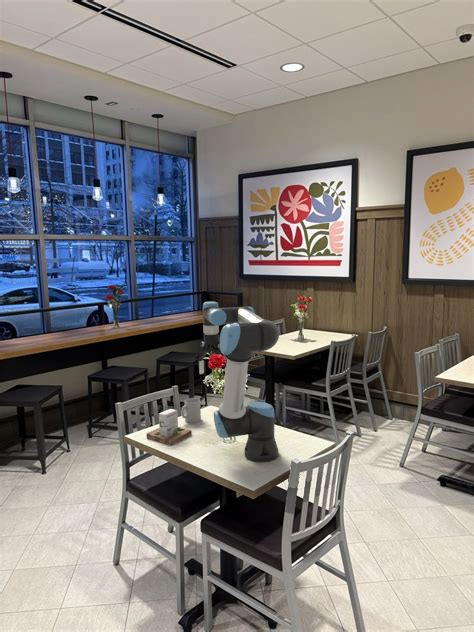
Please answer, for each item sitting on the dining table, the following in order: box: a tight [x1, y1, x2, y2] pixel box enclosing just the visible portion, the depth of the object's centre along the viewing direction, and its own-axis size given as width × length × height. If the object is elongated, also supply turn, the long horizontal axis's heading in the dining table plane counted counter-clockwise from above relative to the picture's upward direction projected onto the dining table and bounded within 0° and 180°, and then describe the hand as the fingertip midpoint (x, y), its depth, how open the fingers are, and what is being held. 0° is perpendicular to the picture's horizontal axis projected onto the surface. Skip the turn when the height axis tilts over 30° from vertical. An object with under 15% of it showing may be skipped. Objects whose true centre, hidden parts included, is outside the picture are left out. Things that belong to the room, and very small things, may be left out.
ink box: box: [158, 408, 179, 438], centre depth 224 cm, size 8×5×12 cm, turn 145°
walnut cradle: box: [146, 426, 193, 446], centre depth 224 cm, size 16×15×2 cm
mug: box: [180, 397, 202, 424], centre depth 244 cm, size 12×8×11 cm
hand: (212, 375), depth 226 cm, fingers open, 13 cm apart
